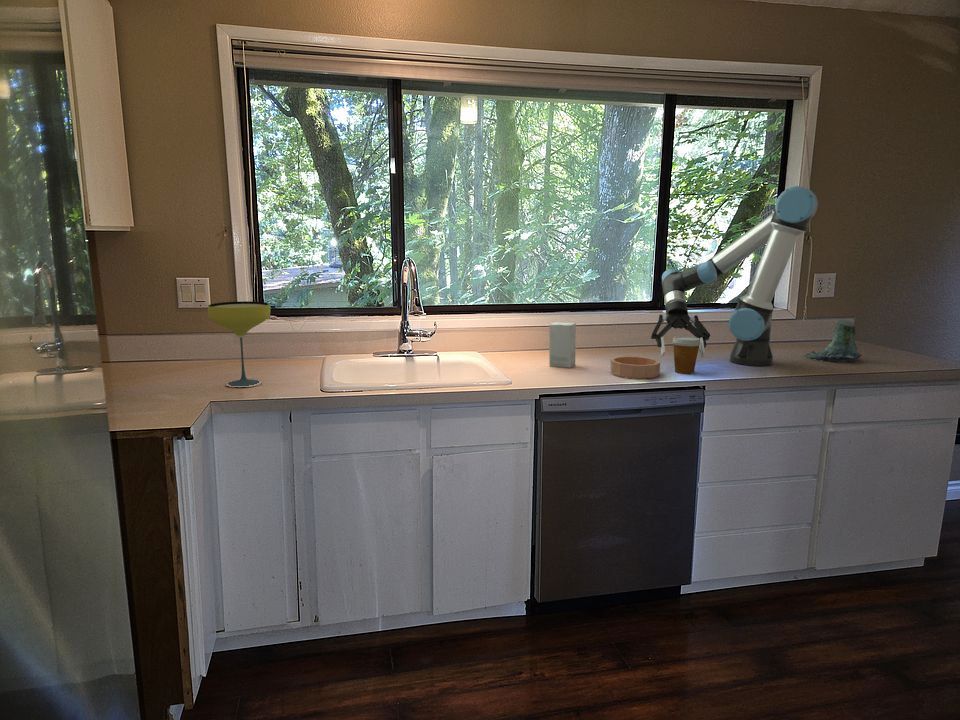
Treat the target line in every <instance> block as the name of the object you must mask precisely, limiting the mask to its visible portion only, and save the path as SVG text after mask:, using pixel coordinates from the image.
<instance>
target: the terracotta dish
mask: <svg viewBox="0 0 960 720" xmlns="http://www.w3.org/2000/svg"><path fill="white" fill-rule="evenodd" d="M609 366H610V367H609V368H610V369H609V370H610V374H611V373H612V374H611V375H613V376H615V375H616V376H615V377H619V376H621V377H620V378H624V377H627V378H626V379H632V378H640V379H639V380H647V379H646V378H649V379H655V378H657V377H659V375H660V370H661V361H659V360H658V359H656V358H651V357H647V356H646V357H645V356H635V355H634V356H633V355H632V356H628V355H623V356H616V357H612V358H611V359H610V365H609ZM641 378H643V379H641ZM644 378H645V379H644Z"/></svg>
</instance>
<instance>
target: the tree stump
mask: <svg viewBox="0 0 960 720" xmlns="http://www.w3.org/2000/svg"><path fill="white" fill-rule="evenodd" d="M835 325H836V326H835V327H834V329H833V333H834V335H833V338H832V341H831V342H830V343H829V344H828V345H826V347H825V349H823V350H821V351H817V352H816V351H811V352H810V353H806V354H805V355H804V356H806V357H805V358H807V359H809V358H810V359H809V360H813V359H816V360H815V361H820V360H823V361H822V362H827V361H831V362H830V363H837V362H844V363H851V362H850V361H854V362H856V361H857V360H858V359H860V358H862V356H863V354H861V353H859V352H858V348H857V345H856V327H855V326H856V324H855V323H854V322H852V321H848V320H846V319H845V320H844V319H838V320H837V322H836V324H835Z"/></svg>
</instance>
